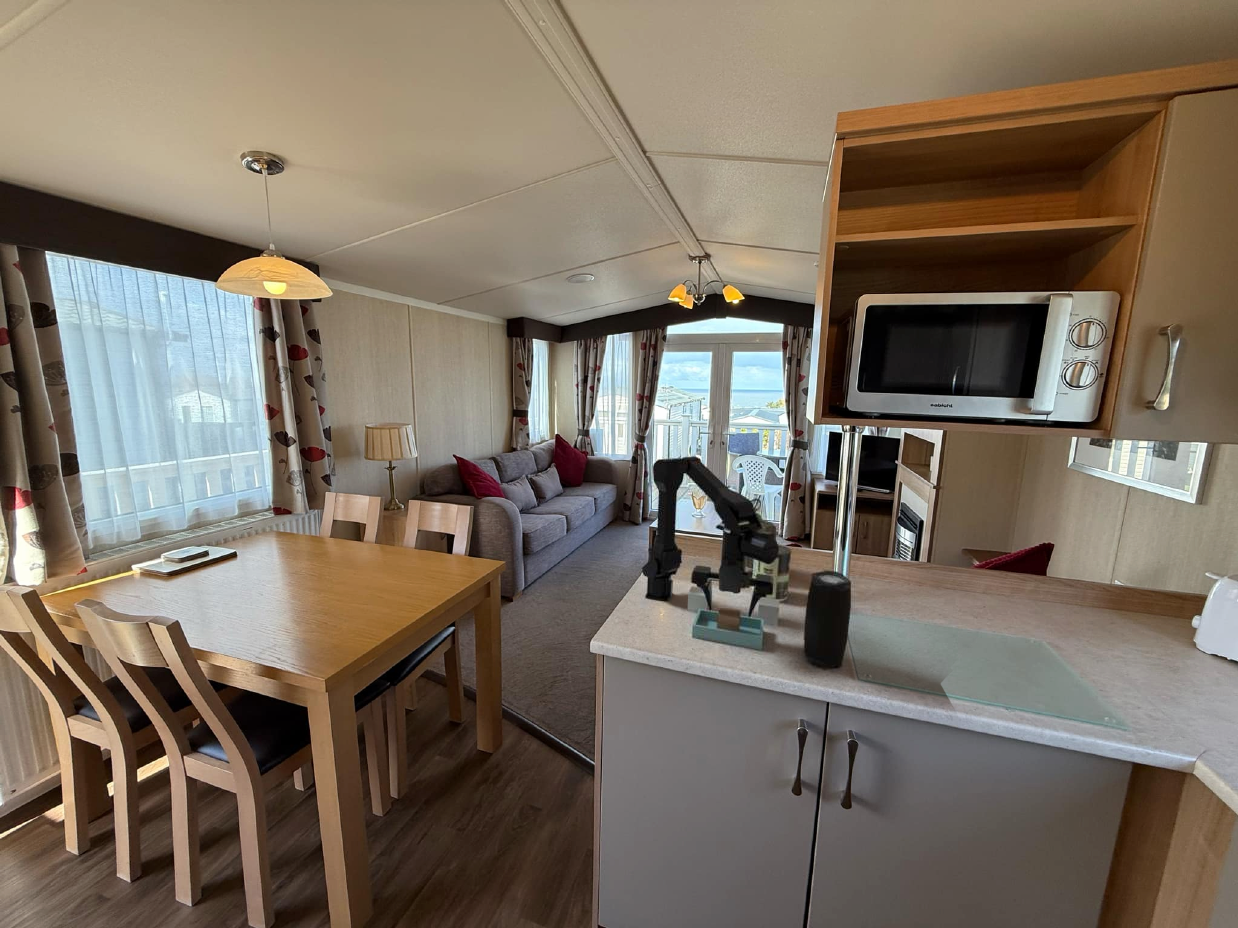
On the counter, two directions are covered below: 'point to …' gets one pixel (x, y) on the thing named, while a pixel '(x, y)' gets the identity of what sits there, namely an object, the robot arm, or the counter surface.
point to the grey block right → (768, 610)
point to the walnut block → (728, 619)
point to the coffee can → (776, 573)
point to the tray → (746, 636)
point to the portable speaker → (827, 619)
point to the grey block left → (696, 599)
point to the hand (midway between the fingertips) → (729, 613)
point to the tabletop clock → (765, 527)
